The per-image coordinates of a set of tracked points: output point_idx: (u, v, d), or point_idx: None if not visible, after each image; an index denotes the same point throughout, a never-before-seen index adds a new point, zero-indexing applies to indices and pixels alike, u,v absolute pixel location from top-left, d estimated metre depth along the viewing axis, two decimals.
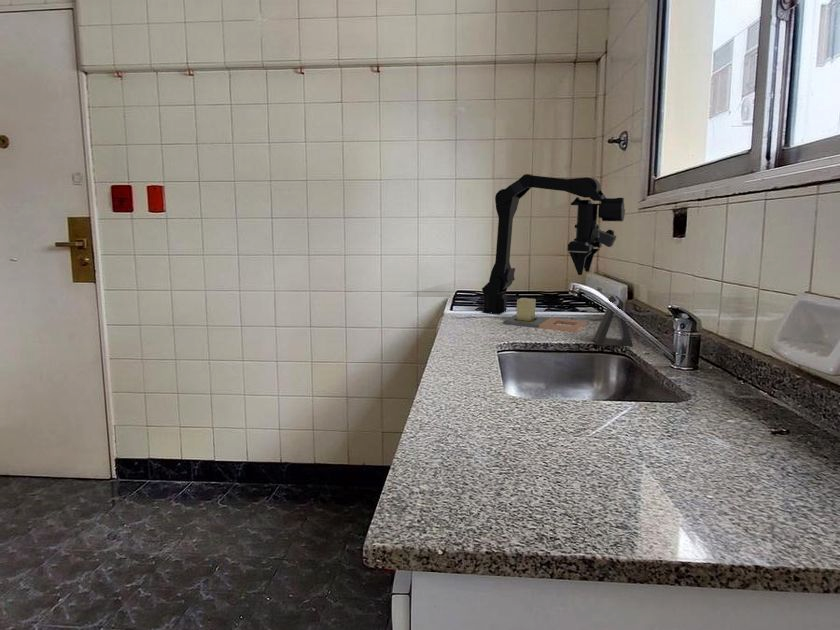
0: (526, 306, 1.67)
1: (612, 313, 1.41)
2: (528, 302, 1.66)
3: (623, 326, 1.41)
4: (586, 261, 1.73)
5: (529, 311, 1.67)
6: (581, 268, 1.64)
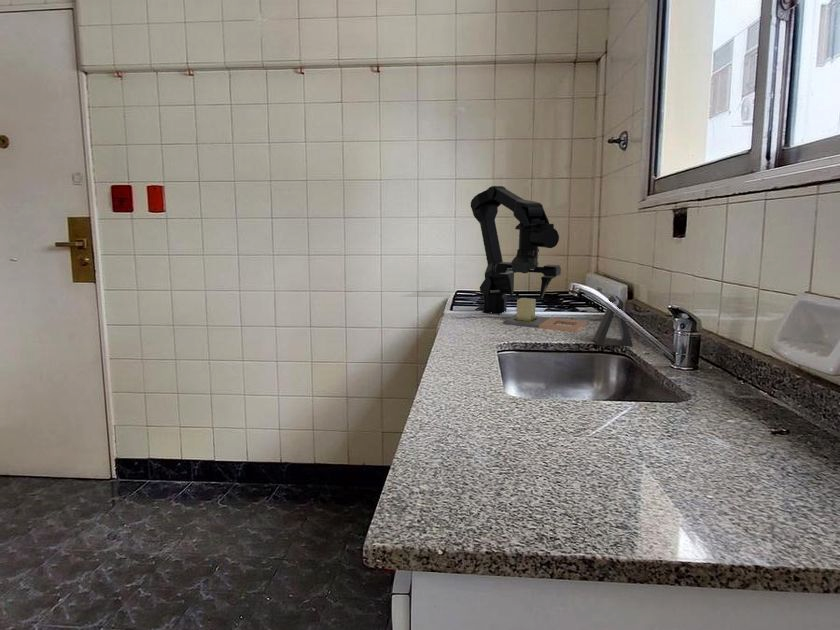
0: (526, 306, 1.67)
1: (612, 313, 1.41)
2: (528, 302, 1.66)
3: (623, 326, 1.41)
4: None
5: (529, 311, 1.67)
6: None
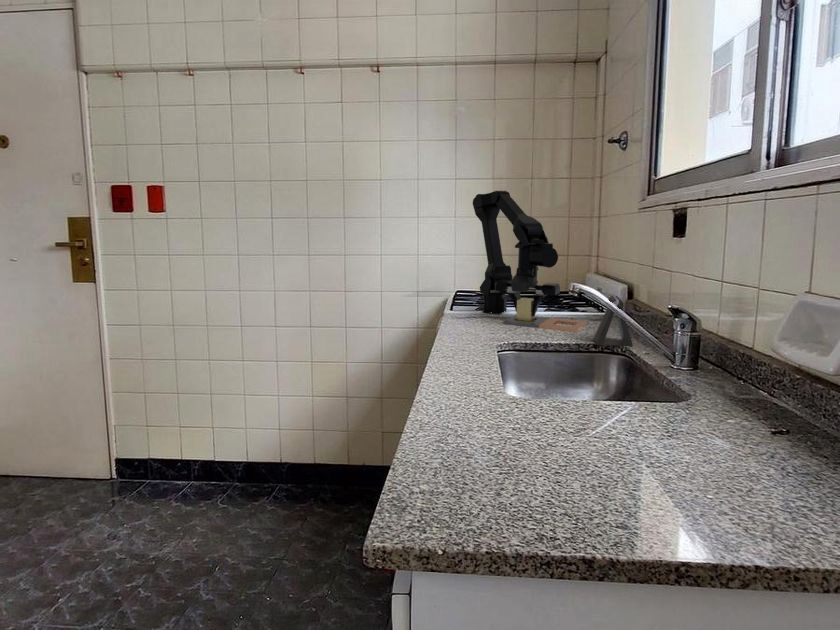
0: (526, 306, 1.67)
1: (612, 313, 1.41)
2: (528, 302, 1.66)
3: (623, 326, 1.41)
4: None
5: (529, 311, 1.67)
6: None
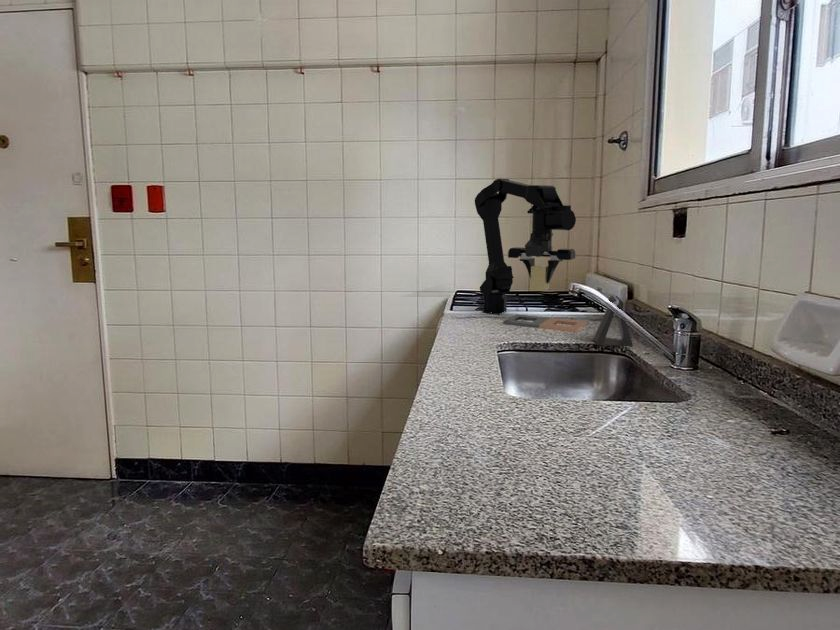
0: (541, 272, 1.63)
1: (612, 313, 1.41)
2: (542, 268, 1.62)
3: (623, 326, 1.41)
4: None
5: (543, 277, 1.62)
6: None
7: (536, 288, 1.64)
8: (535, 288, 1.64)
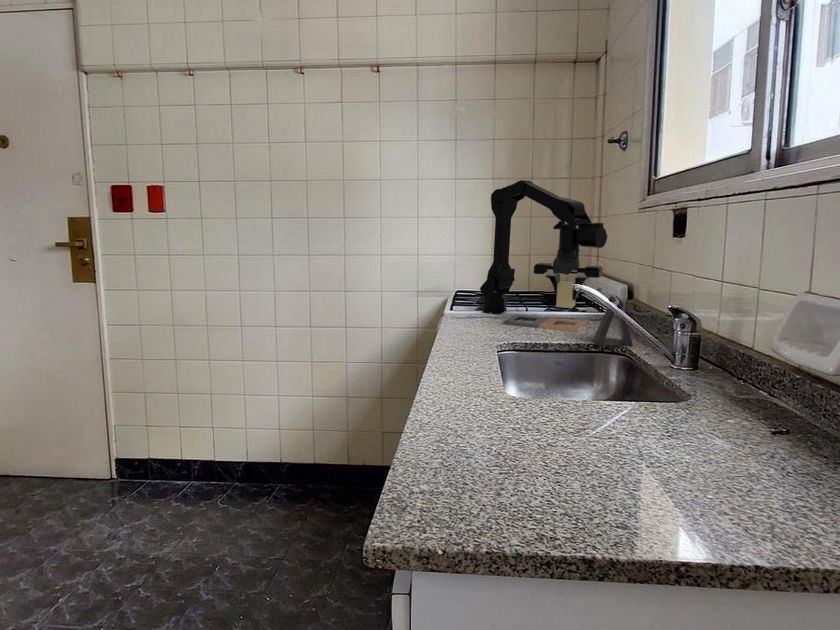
0: (567, 289, 1.60)
1: (612, 313, 1.41)
2: (569, 285, 1.59)
3: (623, 326, 1.41)
4: None
5: (570, 294, 1.60)
6: None
7: (562, 305, 1.61)
8: (561, 305, 1.62)
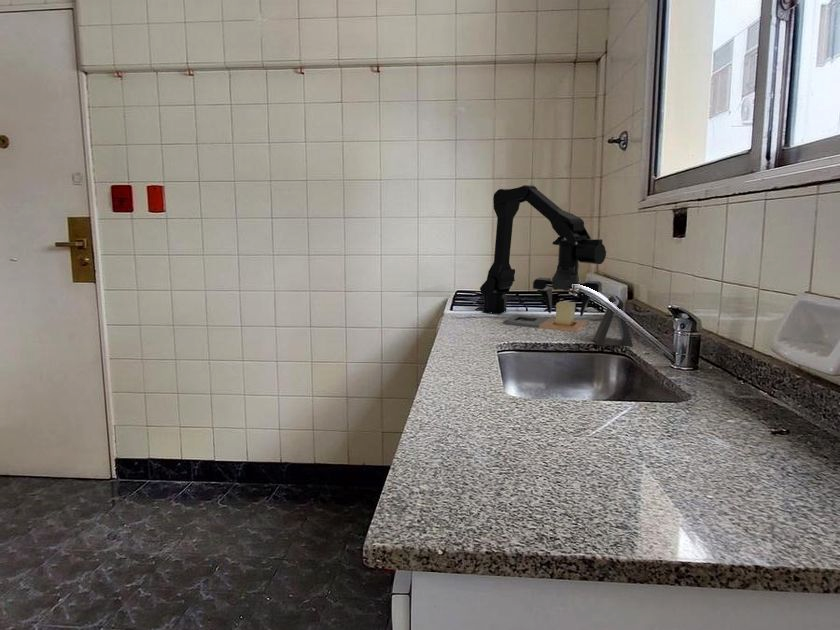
0: (566, 310, 1.61)
1: (612, 313, 1.41)
2: (568, 306, 1.61)
3: (623, 326, 1.41)
4: None
5: (569, 315, 1.61)
6: None
7: None
8: None
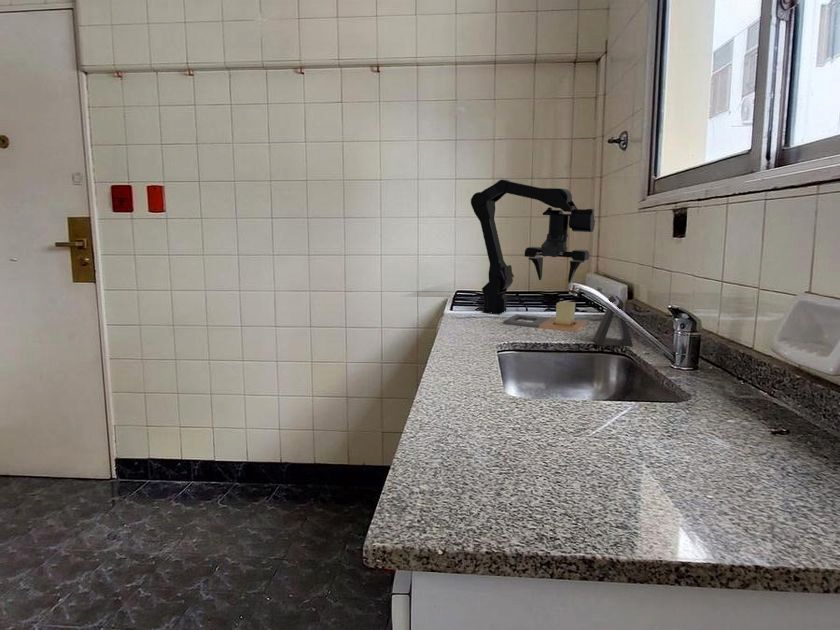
0: (566, 310, 1.61)
1: (612, 313, 1.41)
2: (568, 306, 1.61)
3: (623, 326, 1.41)
4: None
5: (569, 315, 1.61)
6: None
7: None
8: None
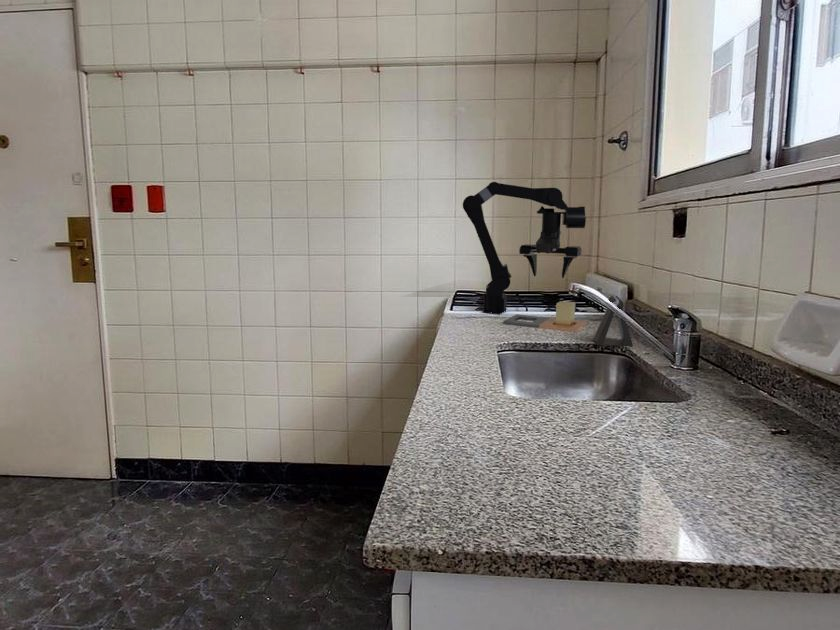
0: (566, 310, 1.61)
1: (612, 313, 1.41)
2: (568, 306, 1.61)
3: (623, 326, 1.41)
4: None
5: (569, 315, 1.61)
6: None
7: None
8: None
